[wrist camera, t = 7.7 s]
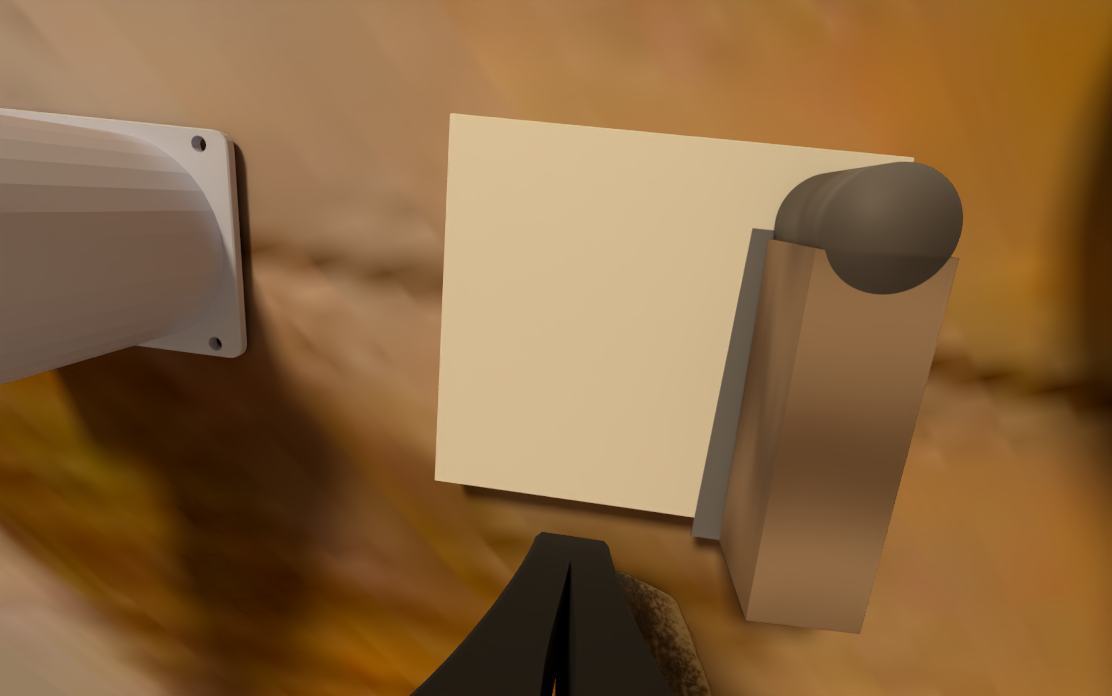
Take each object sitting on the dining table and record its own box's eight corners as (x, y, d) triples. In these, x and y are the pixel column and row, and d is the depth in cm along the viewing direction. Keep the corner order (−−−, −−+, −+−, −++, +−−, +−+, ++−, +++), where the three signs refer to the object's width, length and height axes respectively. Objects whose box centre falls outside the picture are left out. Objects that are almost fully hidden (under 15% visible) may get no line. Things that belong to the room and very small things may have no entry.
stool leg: (779, 169, 14) (833, 157, 11) (893, 175, 14) (983, 165, 11) (719, 540, 17) (745, 620, 14) (810, 550, 17) (860, 634, 14)
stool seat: (450, 469, 20) (433, 498, 18) (468, 124, 17) (449, 112, 15) (786, 517, 19) (806, 552, 17) (877, 163, 16) (915, 157, 14)
